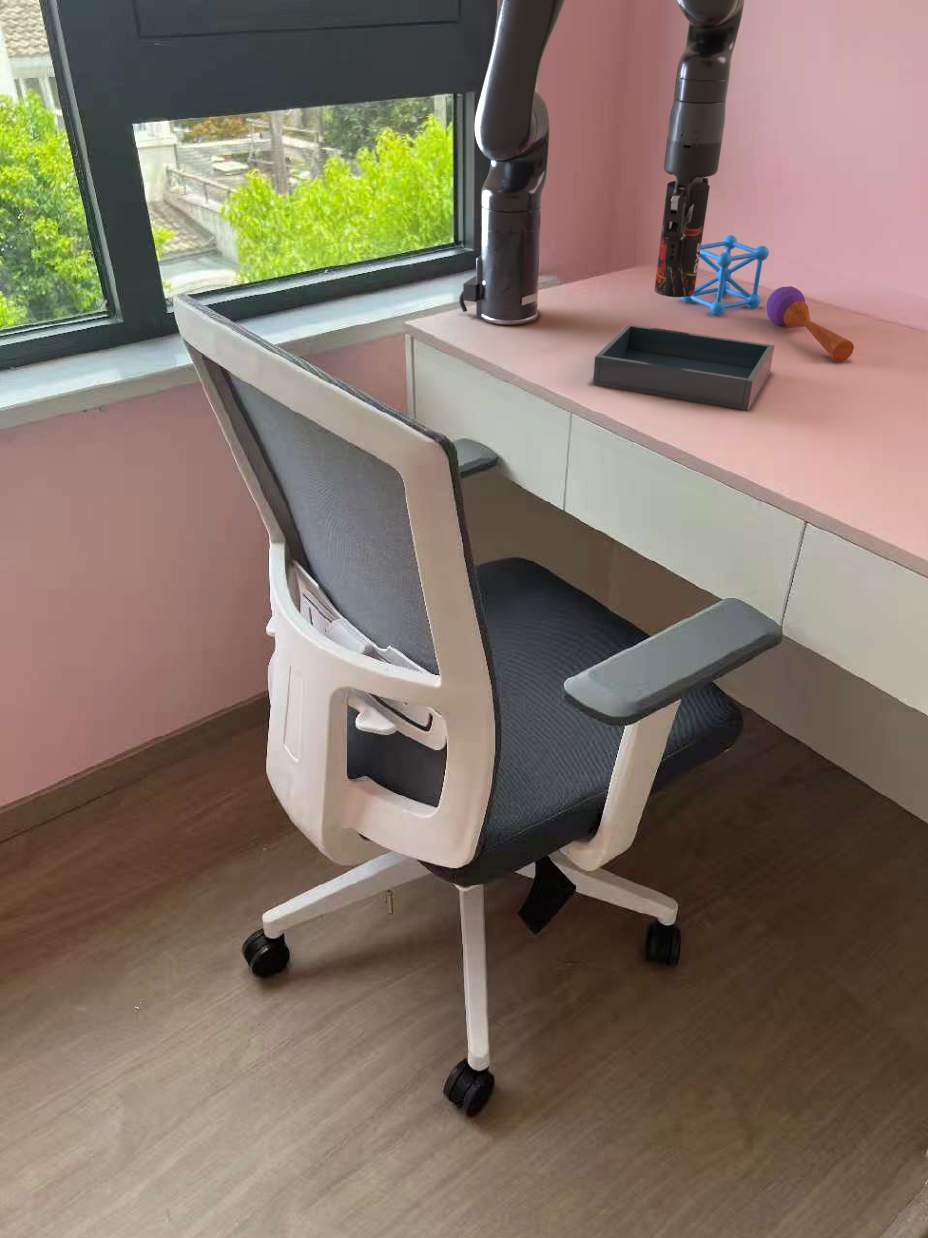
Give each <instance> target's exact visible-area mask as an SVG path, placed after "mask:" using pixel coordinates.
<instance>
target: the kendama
mask: <svg viewBox="0 0 928 1238" xmlns="http://www.w3.org/2000/svg"><path fill="white" fill-rule="evenodd" d="M765 310H766V315H767V318H768V319H769V320H770V321H771V322H772V323H773V324H775V325H777V326H780V327H788V328H806V330H808V331H809V333H810V334H811V335H812V336H813V337H814V339H815V340H816V341H817V342H818V343H819V345H820V346H821V347H822V348H823V349H824V350H825V351H826V352H827V354H829V356H830V357H831V358H832V359H833V361H835V362H836V363H843V362H845V361H846V360H848V359H849V358H851V356H852V355H853V352H854V349H855V345H854V343H853V342H852V341H851V340H849V339H847V338H845V337H843V336H841V335H840V334H838V333H836V332H834V331H832V330H829V329H827V328H826V327H824V326H822V325H821V324H818V323H816V322H815V321H812V320H811V316H810V311H809V305H808V304H807V303H806V298H805V295H804V294H803V292H802V291H801V290H799V289H798V288H796V287H794V286H792V285H791V286H780V287H778V288H776V289H775V290H773V291H772V292H771V293H770V295H769V296H768V298H767V300H766V303H765Z"/></svg>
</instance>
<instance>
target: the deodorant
mask: <svg viewBox="0 0 928 1238" xmlns="http://www.w3.org/2000/svg"><path fill="white" fill-rule="evenodd" d="M675 183H676V180H674V181H673V180H672V181H669V182H668V183H667V184H666V192H665V198H666V197H667V195H668V194H673V193H674V187H675ZM709 194H710V184H709V183H708V184H706V183H703V182H700V183H699V184H698V185H697V186H695V187H694V188H693V189H692V190H691V195H690V202H689V206H688V207H687V208H685V211H684V217H685V216H687V215H688V212H689V208H690V207H691V206H692V205H693V204H694V208H693V214H692V222H691V223H690V224H688V225H687V229H686V234H685V238H684V244H683V252H682V259H681V264H680V265H679V266H678V267H671V266H667V265H666V264H665V258H666V250H667V242H668V239H666V238H665V237H663V231H664V221H665V209H666V199H664V200H665V201H664V208H663V218H662V225H661V233H660V242H659V248H658V258H657V266H656V273H655V283H654V292H655V293H656V294H658V295H661V296H664V297H669V298H681V297H687V296H691V295H693V294H694V291H695V289H696V284H697V283H696V282H697V276H698V270H699V269H698V268H699V263H700V250H701V245H702V243H703V236H704V228H705V223H706V222H705V221H706V214H707V209H708V200H709ZM673 229H676V230H677V229H678V223H676V222H674V224H673Z"/></svg>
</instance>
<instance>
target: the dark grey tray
mask: <svg viewBox="0 0 928 1238" xmlns="http://www.w3.org/2000/svg"><path fill="white" fill-rule="evenodd" d="M775 347H776V345H774V344H768V343H762V342H754V341H747V340H741V339H734V338H726V337H720V336H714V335H713V336H712V335H707V334H706V335H705V334H698V333H693V332H685V331H679V330H671V329H665V328H657V327H650V326H644V325H636V324H625V326H624V327H623V328H622V329H621V330H620V331H619V332H618V333H617V334H616V335H615V336H614V337H613V338H611V340H610V341H608V343H607V344H606V345H604V347H603V348H602V349H601V350H600V351H599V352H598V353H597V354H596V355H595V356H594V362H593V363H594V365H593V377H592V380H593V381H592V385H593V386H599V387H605V388H611V389H618V390H622V391H628V392H634V393H641V394H646V395H652V396H658V397H663V398H664V397H665V398H670V399H676V400H681V401H682V400H683V401H688V402H695V403H700V404H706V405H710V406H718V407H723V408H730V409H734V410H735V409H736V410H742V411H748V410H749V409H750V408H751V405H752V404H753V402H754V400H755V399H756V397H757V395H758V393H759V392H760V391H761V388H762V387H763V385H764V383H765V382H766V380H767V378H768V377H769V375H770V374H771V369H772V362H773V357H774V352H775Z"/></svg>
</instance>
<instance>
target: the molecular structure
mask: <svg viewBox="0 0 928 1238" xmlns="http://www.w3.org/2000/svg"><path fill="white" fill-rule="evenodd" d="M719 247H723V248H724V249H725V251H723V252H721V253H719V254H716V253H713V252H711V251H708V250H709V249H713V248H719ZM735 248H737V249H740V250H743V251H746V252H747V253H742V254H736V255H731V252H732V250H734V249H735ZM707 249H708V250H707ZM769 253H770V251H769V248H768V247H767V246H765V245H759V246H757V247H756V248H755V247H751V246H749V245H746V244H743V243H740V242H738V239H737V237H736V236H735V235H733V234H728V235H726V236H725V237H724V238H723V240H722V241H716V242H710V243H705V244H701V250H700V257H699V259H701V260H702V261H703V262H705V263H706V265H708V266H709V267H710V268H712V270H713V271H715V272H716V276H714V277H713V278H711V279H709V280H708V281H706V282H704V283H703V284H700V286H698V287H695V291H694V294H693V295H691V296H687V297H680V298H681V301H682V302H683V303H691V302H693V301H694V302H696V303H699V304H701V305H703V306H706V307H708V308H709V309H710V312H711V314H712V315H713V316H721V315H722V314H724V313H725V310H726V309H732V308H737V307H741V306H747V307H748V308H750V309H755V308H758V307H759V306H760V305H761V301H762V298H761V296H760V295H759V294H758V292H759V291H758V290H759V286H760V285H759V283H760V280H761V279H760V278H761V273H762V266H763V261H765V260H766V259H768V257H769ZM710 258H711V259H713V260H715V261H716V263H715V262H713V260H711V259H710ZM740 260H743V261H741V262H739V263H738V264H735V265H734V266H732V267H730V268H729V266H731V263H732V262H735V261H740ZM755 260H756V261H757V262H756V270H755V275H754V281H753V288H752V293H749V292H748V291H747V290H745V288H743V287H742V286H741V285H740V284H738V283H737V282H736V281H735V280H734V279H733V278H732V273H734V272H736V271H738V270H739V269H741V268H743V267H745V266H746V265H748V264H750V263H752V262H753V261H755ZM717 282H718V284H717V285H716V287H713V288H712V287H711V288H708V287H709V286H711V285H713V284H715V283H717ZM731 286H732V287H733V288H734V289H732V288H731ZM706 288H707V289H706ZM735 289H736V290H735ZM715 293H716V300H715V301H713V302H710V301H708V300H705V299H703V298H701V297H700V296H704V295H709V294H715ZM728 294H730V295H731V296H734V297H737V298H739V299H741V300H740V301H739V300H738V301H735V302H734V301H733V302H729V303H724V302H723V301H722V298H723V296H727V295H728Z"/></svg>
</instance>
